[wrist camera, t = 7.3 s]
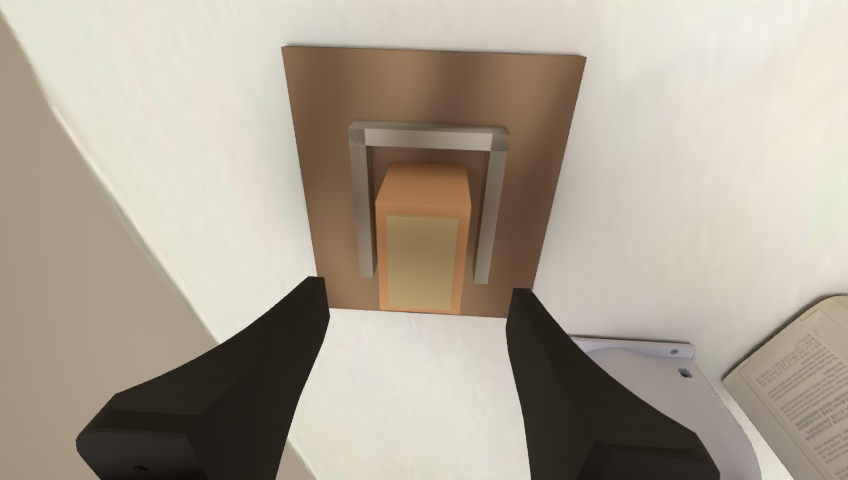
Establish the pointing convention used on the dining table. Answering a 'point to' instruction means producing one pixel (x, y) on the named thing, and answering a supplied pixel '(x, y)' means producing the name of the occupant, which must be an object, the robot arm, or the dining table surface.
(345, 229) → the end holder
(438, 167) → the connector plug
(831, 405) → the photo printer
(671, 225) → the dining table surface
